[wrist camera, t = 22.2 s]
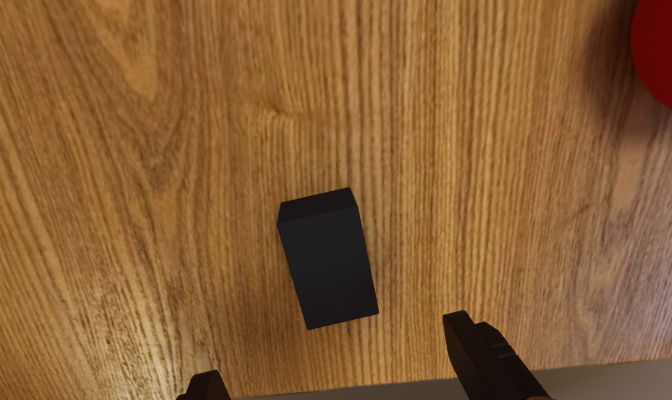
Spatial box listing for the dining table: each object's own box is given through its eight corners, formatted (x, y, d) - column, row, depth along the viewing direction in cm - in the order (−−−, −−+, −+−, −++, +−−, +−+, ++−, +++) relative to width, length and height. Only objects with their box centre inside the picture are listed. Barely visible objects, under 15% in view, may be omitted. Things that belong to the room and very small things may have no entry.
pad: (306, 296, 27) (307, 330, 24) (280, 202, 25) (276, 224, 21) (369, 282, 27) (379, 314, 24) (349, 186, 25) (357, 205, 21)
